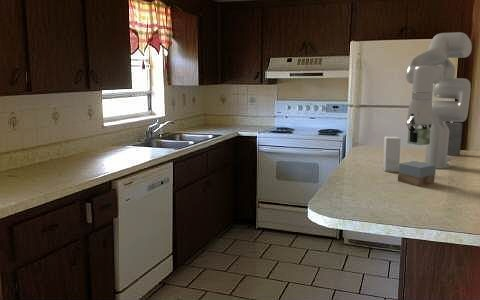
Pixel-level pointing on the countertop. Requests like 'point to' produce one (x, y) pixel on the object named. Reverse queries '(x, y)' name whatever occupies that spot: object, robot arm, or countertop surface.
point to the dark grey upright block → (454, 138)
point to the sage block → (421, 137)
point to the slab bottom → (415, 180)
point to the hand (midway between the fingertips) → (418, 141)
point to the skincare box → (391, 154)
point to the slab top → (417, 169)
